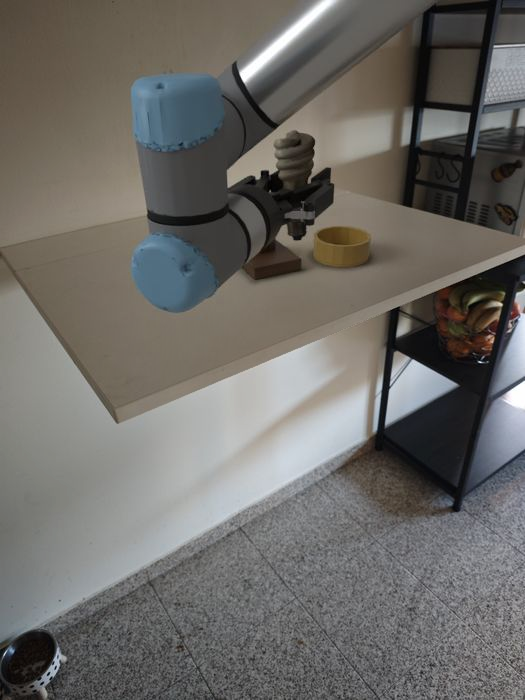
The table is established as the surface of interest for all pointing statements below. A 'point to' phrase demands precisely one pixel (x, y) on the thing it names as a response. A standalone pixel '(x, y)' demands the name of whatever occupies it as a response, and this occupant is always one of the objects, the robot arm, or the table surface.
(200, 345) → the table surface
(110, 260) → the table surface
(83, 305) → the table surface
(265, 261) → the switch box
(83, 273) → the table surface
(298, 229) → the light bulb
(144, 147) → the robot arm
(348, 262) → the lamp holder
